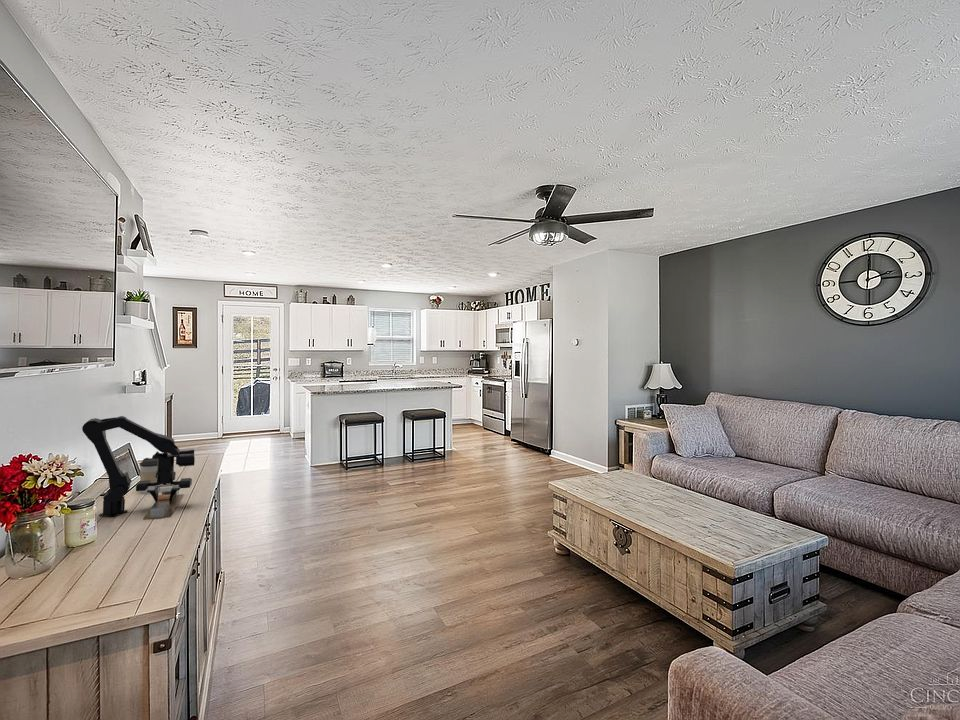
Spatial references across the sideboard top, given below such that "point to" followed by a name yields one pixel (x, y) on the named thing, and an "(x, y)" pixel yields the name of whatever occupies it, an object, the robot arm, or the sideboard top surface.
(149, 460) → the coffee cup
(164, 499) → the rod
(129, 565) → the sideboard top surface
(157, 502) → the tube base
